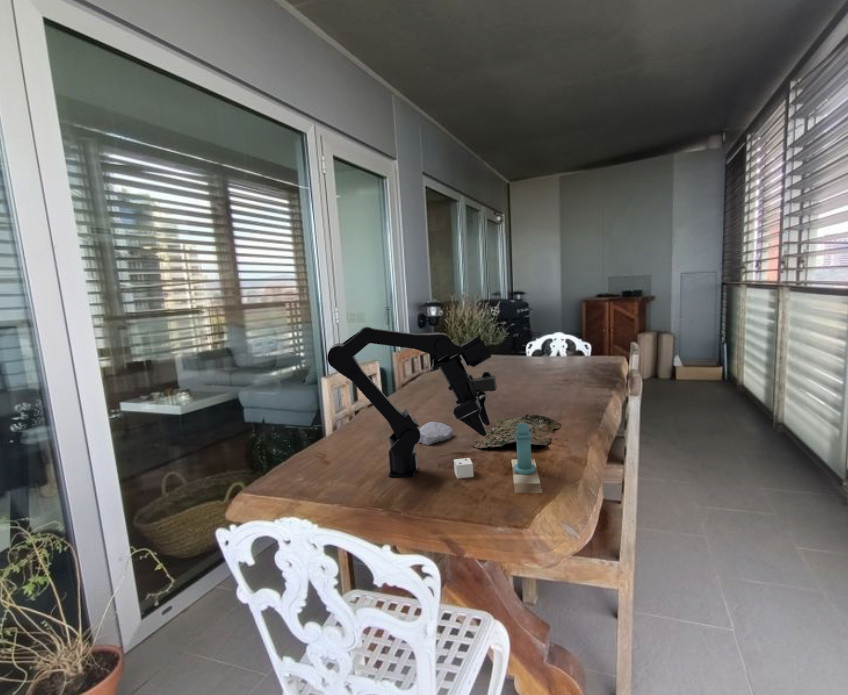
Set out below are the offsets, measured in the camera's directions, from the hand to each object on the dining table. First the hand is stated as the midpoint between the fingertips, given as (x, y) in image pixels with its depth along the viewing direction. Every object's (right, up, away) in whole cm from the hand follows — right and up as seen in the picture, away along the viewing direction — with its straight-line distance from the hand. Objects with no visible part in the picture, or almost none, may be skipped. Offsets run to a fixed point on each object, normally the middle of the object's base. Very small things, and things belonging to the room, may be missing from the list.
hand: (486, 430), depth 120 cm
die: (-6, -11, -4) cm, 13 cm away
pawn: (+9, -9, -4) cm, 14 cm away
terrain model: (+11, -7, +25) cm, 28 cm away
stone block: (-13, -8, +27) cm, 31 cm away
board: (+9, -10, -7) cm, 15 cm away
